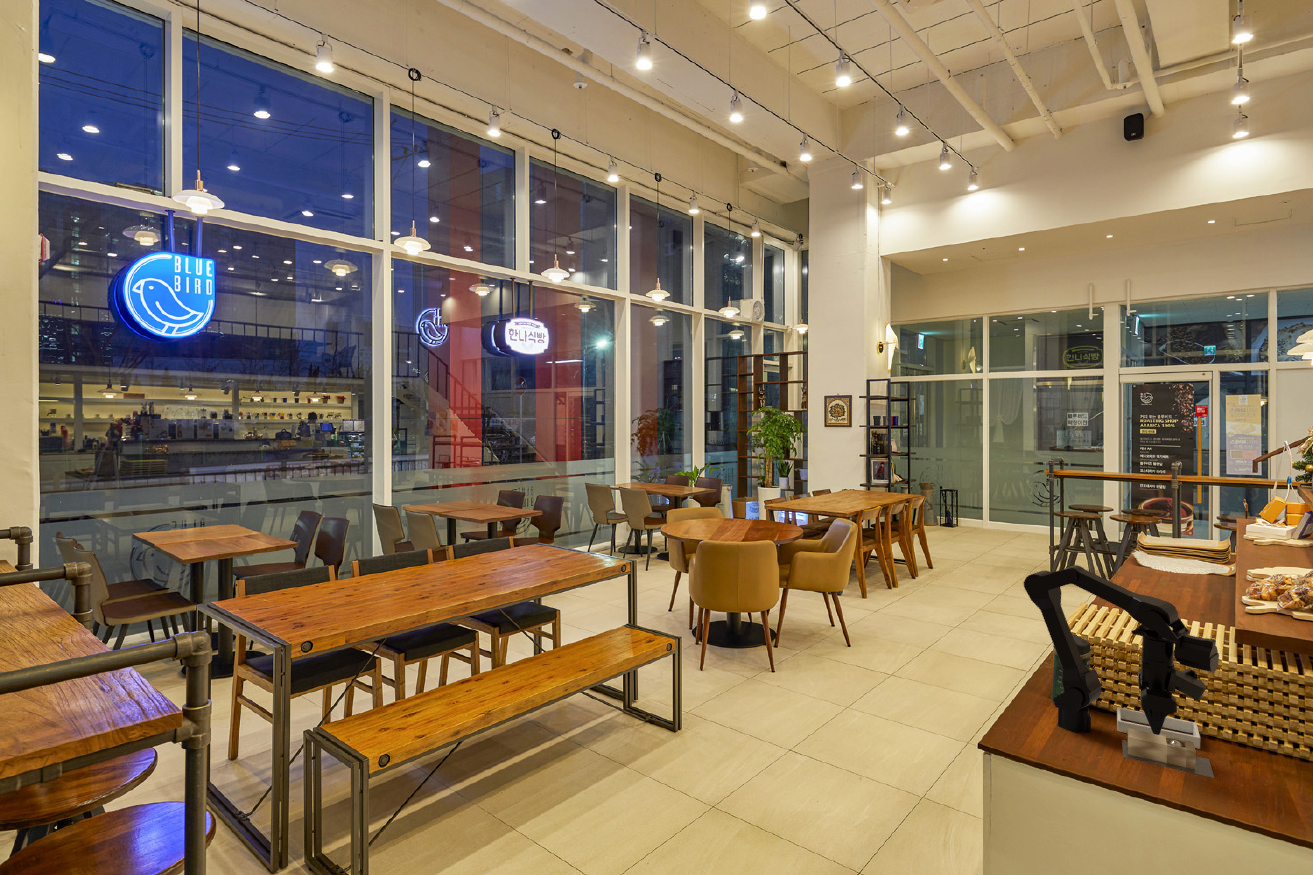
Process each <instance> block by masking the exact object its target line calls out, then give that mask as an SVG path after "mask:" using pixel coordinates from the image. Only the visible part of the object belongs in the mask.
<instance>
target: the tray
mask: <svg viewBox="0 0 1313 875" xmlns="http://www.w3.org/2000/svg"><path fill="white" fill-rule="evenodd" d="M1116 709H1117V711H1116V727H1117V730H1116V731H1117V732H1120V733H1123V734H1124V733H1125V734H1128V728H1130V729H1135V730H1140V731H1144V732H1149V733H1153V732H1152V730H1151V727H1150V725H1149V722H1148V720H1147V718H1146V715H1145V713H1144V711H1137V710H1135V709H1133V710H1132V709H1129V708H1123V707H1118V706H1117V707H1116ZM1124 720H1125V721H1124ZM1129 721H1131V722H1129ZM1138 723H1139V724H1138ZM1143 724H1144V725H1143ZM1148 725H1149V726H1148ZM1163 728H1164V729H1163ZM1168 729H1169V730H1168ZM1173 730H1174V731H1173ZM1177 731H1178V732H1177ZM1179 731H1180V732H1179ZM1183 732H1184V733H1183ZM1159 735H1163V736H1168V737H1173V738H1178V739H1182V740H1187V741H1192V742H1194V746H1195V749H1198V750H1200V749H1201V734H1200V733H1199V728H1198V724H1197V722H1193V721H1188V720H1183V719H1179V718H1173V717H1168V716H1166V718H1165V721H1164V723H1163V726H1162V729H1161V732H1160V734H1159Z"/></svg>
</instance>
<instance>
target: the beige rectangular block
mask: <svg viewBox="0 0 1313 875" xmlns="http://www.w3.org/2000/svg"><path fill="white" fill-rule="evenodd" d="M1173 740H1176V741H1178V742H1180V743H1181V745H1182V747H1179V746H1174V745H1170V742H1171V741H1173ZM1127 741H1128V754H1129V755H1134V756H1138V757H1142V758H1147V759H1151V760H1156V761H1160V762H1164V763H1169V764H1173V765H1177V766H1182V767H1186V768H1191V769H1195V764H1196V756H1197V755H1196V754H1197V750H1196V748H1195V746H1194V742H1192V741H1187V740H1182V739H1178V738H1173V737H1168V736H1163V735H1156V734H1153V733H1149V732H1144V731H1140V730H1135V729H1130V728H1128V733H1127Z"/></svg>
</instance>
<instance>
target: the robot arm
mask: <svg viewBox="0 0 1313 875" xmlns="http://www.w3.org/2000/svg"><path fill="white" fill-rule="evenodd" d="M1069 585H1074V586H1076V587H1078V588H1080V589H1082V590H1084V591H1086V592H1088V593H1090V594H1092V595H1094V596H1096V597H1097V598H1100V599H1102V600H1104V601H1106V602H1108V603H1110V604H1112V605H1114V606H1116V607H1117V608H1120V609H1122V610H1123V611H1125V612H1126V613H1127V614H1128V615H1129V616H1130V617H1131V618H1133V619H1134V620H1135V621H1136V622H1138V623H1139V624H1140V625H1138V627H1136V628H1135V629H1134V630H1131V634H1132V635H1136V636H1140V637H1142V639H1141V640H1142V642H1141V643H1142V644H1141V647H1142V648H1141V656H1140V661H1141V667H1140V668H1139V669H1138V670H1137V681H1138V682H1137V683H1138V687H1139V689H1140V695H1139V696H1140V697H1139V699H1140V707H1141V708H1142V712H1144V713H1145V715H1146V718H1147V720H1148V722H1149V724H1148V725H1149V727H1151V730H1152V732H1153V734H1156V735H1159V734H1160V732H1161V729H1163V727H1162V726H1163V723H1164V721H1165V718H1166V717H1168V716H1170V715H1174V714H1177V712H1178V703H1177V698H1176V697H1175V696H1174V695H1173V694H1172V693H1176V690H1177V691H1178V692H1180V693H1182V694H1185V695H1186V696H1188V697H1190V698H1191V699H1193V700H1196V701H1201V698H1202V696H1203V695H1204V693H1205V691H1206V689H1207V687H1206V684H1205V682H1203V681H1202V679H1200V678H1199V679H1198V673H1197V671H1196V670H1200V671H1205V672H1207V673H1212V674H1215V672H1216V670H1217V668H1218V665H1219V660H1220V653H1219V652H1218V646H1216V639H1212V638H1208V637H1205V638H1204V637H1199V636H1195V635H1192V634H1190V632H1191V631H1190V630H1189V629H1188V628H1187V627H1186V625H1185V623H1184V622H1183V621H1182V620H1181V618H1180V616H1179V612H1178V609H1177V608H1176V606H1175V605H1174V604H1173V603H1171V602H1169V601H1167V600H1163V599H1160V598H1157V597H1154V596H1151V595H1145V594H1139V593H1136V592H1133V591H1132V590H1129V589H1127V588H1125V587H1122V586H1120V585H1118V584H1117V583H1114V582H1113V581H1110V580H1108V579H1106V578H1105V577H1102V576H1100V575H1098V574H1095V573H1093V572H1091V571H1089V570H1087V569H1085V568H1084V567H1082V566H1080V565H1078V564H1075V565H1074V564H1073V565H1070V566H1069V567H1066V568H1064V569H1060V570H1056V571H1051V570H1040V571H1037V572H1034V573H1031V574H1029V575H1027V576H1026V577H1025V579H1024V581H1023V588H1024V590H1025V592H1026V594H1027V595H1028V597H1029V599H1030V601H1032V603H1033V604H1034V605H1035V606H1036V607H1037V608H1038V609H1039V611H1040V612H1041V616H1042V618H1043V620H1044V624H1045V625H1046V627H1047V628H1046V629H1047V631H1048V633H1049V636H1050V639H1051V641H1052V642H1051V643H1052V644H1053V646H1054V647H1055V650H1056V652H1057V655H1058V658H1059V660H1060V663H1061V666H1062V685H1063V690H1064V692H1063V693H1062V694H1060V695H1058V696H1056V697H1055V698H1053V701H1054V702H1053V701H1052V702H1053V703H1054V706H1055V708H1056V709H1057V727H1060V728H1061V729H1063V730H1067V731H1068V732H1072V733H1073V732H1074V733H1086V734H1087V733H1089V734H1090V733H1092V713H1090V712H1089V706H1091V705H1092V703H1093V702H1095V701H1096V700H1098V699H1099V698H1100V696H1101V695H1102V687H1103V686H1104V685H1103V684H1102V683H1101V681H1100V680H1099V676H1098V672H1097V670H1096V669H1090V670H1089V669H1088V668H1087V667H1086V666H1085V665H1084V663H1083V662H1082V659H1081V656H1080V654H1079V651H1078V649H1077V646H1076V644H1075V641H1074V638H1073V636H1072V633H1073V632H1072V631H1071V629H1070V626H1069V623H1068V620H1067V618H1066V615H1065V613H1064V611H1063V610H1064V609H1063V608H1062V589H1061V588H1062V587H1064V586H1069ZM1071 632H1072V633H1071ZM1054 647H1053V648H1054ZM1174 658H1175V661H1176V662H1178V664H1180V665H1181V666H1183V667H1184V666H1185V667H1189V668H1187V669H1185V670H1178V669H1176V668H1175V663H1174ZM1191 668H1193V669H1196V670H1193V669H1191ZM1171 692H1172V693H1171Z"/></svg>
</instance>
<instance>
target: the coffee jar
mask: <svg viewBox="0 0 1313 875" xmlns="http://www.w3.org/2000/svg"><path fill="white" fill-rule="evenodd" d="M1072 636H1073V638H1074V641H1075V644H1076V646H1077V649H1078V651H1079V654H1080V656H1081V659H1082V662H1083V663H1084V665H1085V666H1086V667H1087V668H1088V669H1089V670H1091V656H1092V655H1091V654H1092V648H1091V649H1090V643H1089V642H1087V641H1086V640H1084V639H1082V638H1081V637H1078V636H1077V635H1073V634H1072ZM1052 646H1053V647H1052V648H1053V671H1052V672H1053V673H1052V686H1051V688H1052V689H1051V701H1052V702H1053V703H1054V701H1053V698H1055V697H1056V696H1058V695H1060V694H1062V693H1063V692H1064V690H1063V685H1062V666H1061V663H1060V660H1059V658H1058V655H1057V652H1056V650H1055V647H1054V645H1052Z"/></svg>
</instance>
